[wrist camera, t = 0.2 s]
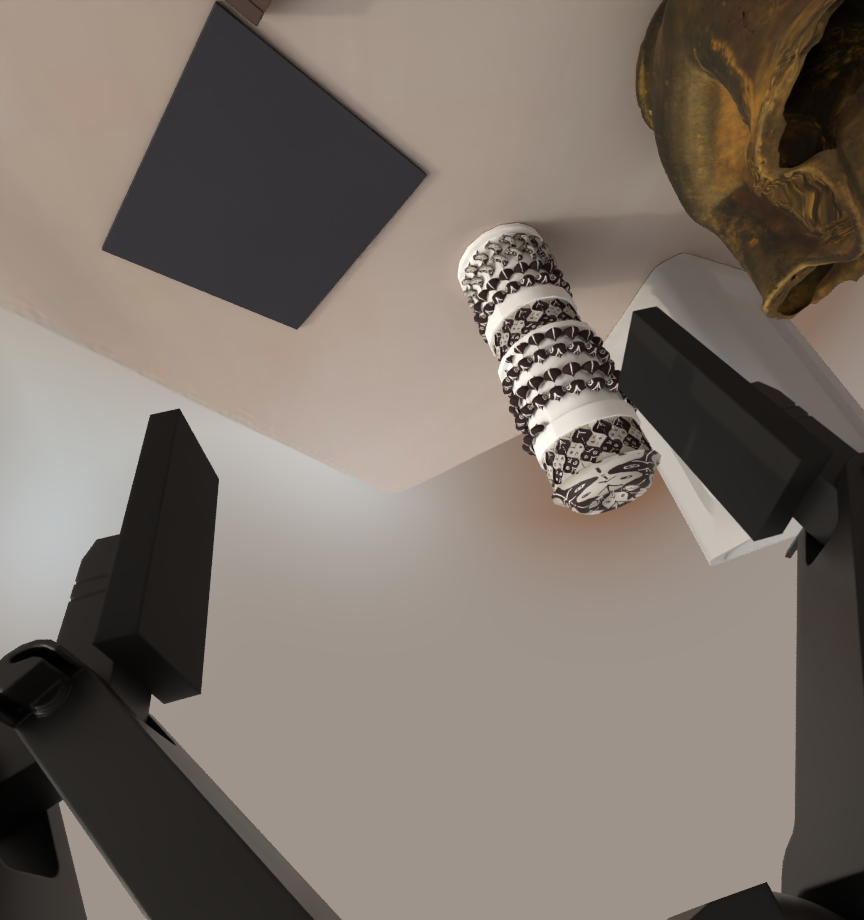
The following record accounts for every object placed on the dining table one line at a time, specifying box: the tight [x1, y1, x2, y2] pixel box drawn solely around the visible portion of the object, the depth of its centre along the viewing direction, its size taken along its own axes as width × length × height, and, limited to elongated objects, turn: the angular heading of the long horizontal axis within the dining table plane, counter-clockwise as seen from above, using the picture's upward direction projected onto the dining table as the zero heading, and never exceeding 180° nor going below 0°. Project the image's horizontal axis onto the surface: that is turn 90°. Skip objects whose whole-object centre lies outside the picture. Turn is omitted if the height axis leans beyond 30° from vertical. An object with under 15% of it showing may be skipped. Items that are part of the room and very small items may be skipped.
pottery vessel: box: [636, 0, 864, 320], centre depth 31 cm, size 25×11×20 cm, turn 35°
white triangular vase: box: [602, 253, 864, 566], centre depth 53 cm, size 19×15×28 cm
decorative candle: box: [458, 223, 661, 515], centre depth 42 cm, size 9×9×25 cm
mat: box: [102, 1, 427, 329], centre depth 37 cm, size 18×16×1 cm
